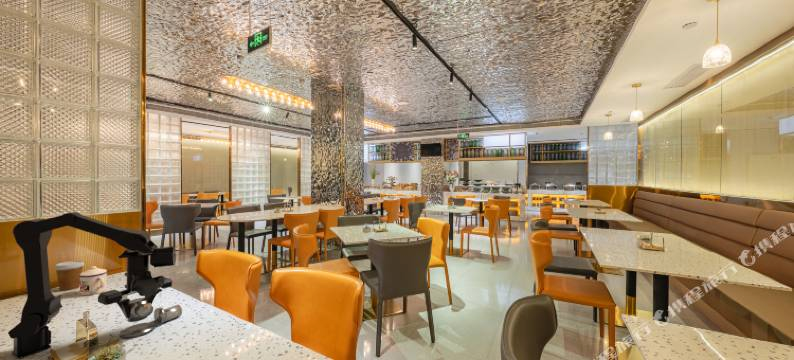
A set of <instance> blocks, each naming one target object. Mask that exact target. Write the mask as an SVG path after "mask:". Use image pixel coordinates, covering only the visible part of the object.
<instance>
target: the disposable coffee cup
mask: <svg viewBox="0 0 794 360" xmlns="http://www.w3.org/2000/svg"><path fill="white" fill-rule="evenodd" d="M84 265H85V262H84V261H83V260H70V261H63V262H60V263H57V264H56V265H55V266H54V269H55V272H56V277H57V283H58V288H59V291H61V292H65V291H72V290H76V289H80V277H79V275H80V274H81V273H83V269H84Z"/></svg>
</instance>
